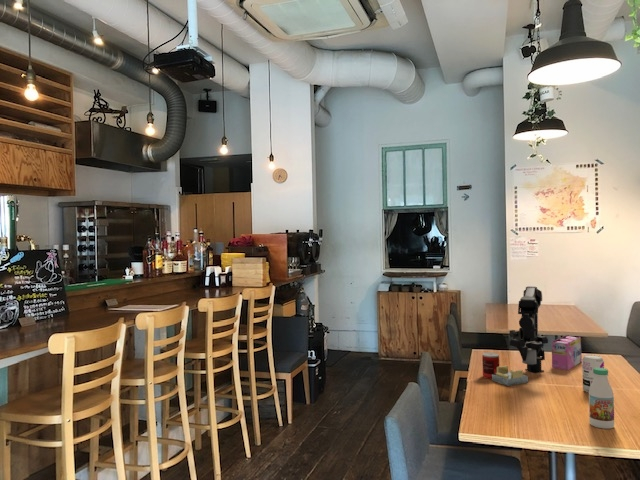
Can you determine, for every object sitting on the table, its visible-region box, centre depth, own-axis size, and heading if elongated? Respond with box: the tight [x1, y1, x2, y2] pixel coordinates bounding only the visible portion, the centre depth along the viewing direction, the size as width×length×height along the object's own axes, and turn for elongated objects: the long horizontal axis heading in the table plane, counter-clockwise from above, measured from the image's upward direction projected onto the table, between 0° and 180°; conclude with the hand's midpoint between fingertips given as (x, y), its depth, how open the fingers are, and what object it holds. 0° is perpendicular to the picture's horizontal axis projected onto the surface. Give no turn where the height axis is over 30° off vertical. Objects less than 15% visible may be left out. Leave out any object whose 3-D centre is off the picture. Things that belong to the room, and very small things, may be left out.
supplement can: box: [581, 354, 605, 394], centre depth 215 cm, size 8×8×15 cm
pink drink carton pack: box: [551, 334, 583, 371], centre depth 262 cm, size 24×8×14 cm, turn 136°
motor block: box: [491, 365, 529, 387], centre depth 233 cm, size 14×10×6 cm
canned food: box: [481, 351, 500, 380], centre depth 241 cm, size 8×8×11 cm
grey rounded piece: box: [521, 348, 537, 365], centre depth 229 cm, size 6×6×6 cm
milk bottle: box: [588, 367, 615, 430], centre depth 177 cm, size 8×8×20 cm
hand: (529, 360), depth 229 cm, fingers closed on grey rounded piece, 6 cm apart
